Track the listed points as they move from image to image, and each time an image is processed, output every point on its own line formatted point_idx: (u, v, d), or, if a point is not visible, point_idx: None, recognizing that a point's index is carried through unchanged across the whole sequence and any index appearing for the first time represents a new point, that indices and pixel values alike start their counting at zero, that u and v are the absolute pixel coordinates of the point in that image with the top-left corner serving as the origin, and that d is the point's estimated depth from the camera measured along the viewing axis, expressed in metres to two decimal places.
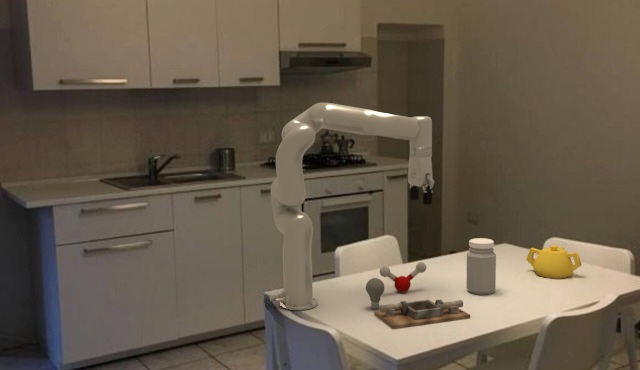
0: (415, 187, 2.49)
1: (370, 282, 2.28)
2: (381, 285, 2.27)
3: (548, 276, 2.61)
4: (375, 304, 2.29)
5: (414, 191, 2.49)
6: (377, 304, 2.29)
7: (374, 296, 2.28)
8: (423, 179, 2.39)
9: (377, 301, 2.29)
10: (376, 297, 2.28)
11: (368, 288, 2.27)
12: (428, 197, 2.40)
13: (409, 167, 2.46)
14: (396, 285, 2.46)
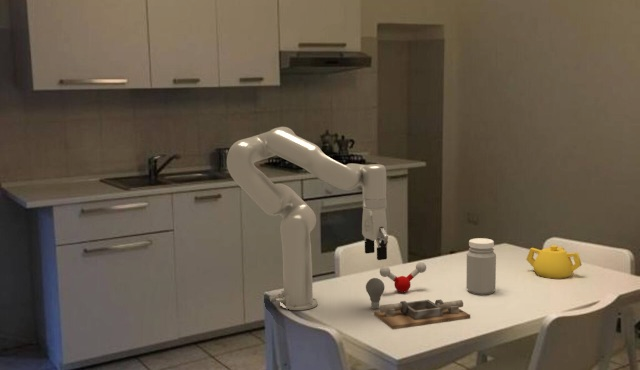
0: (370, 239, 2.32)
1: (370, 282, 2.28)
2: (381, 285, 2.27)
3: (548, 276, 2.61)
4: (375, 304, 2.29)
5: (369, 244, 2.31)
6: (377, 304, 2.29)
7: (374, 296, 2.28)
8: (377, 233, 2.21)
9: (377, 301, 2.29)
10: (376, 297, 2.28)
11: (368, 288, 2.27)
12: (382, 252, 2.22)
13: (363, 219, 2.28)
14: (396, 285, 2.46)
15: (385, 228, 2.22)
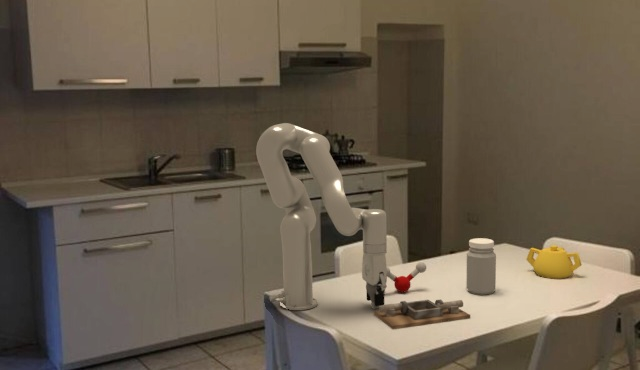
0: None
1: None
2: None
3: (548, 276, 2.61)
4: None
5: None
6: None
7: None
8: (376, 278, 2.23)
9: None
10: None
11: (368, 288, 2.27)
12: (380, 299, 2.26)
13: (363, 262, 2.30)
14: (396, 285, 2.46)
15: (385, 273, 2.24)
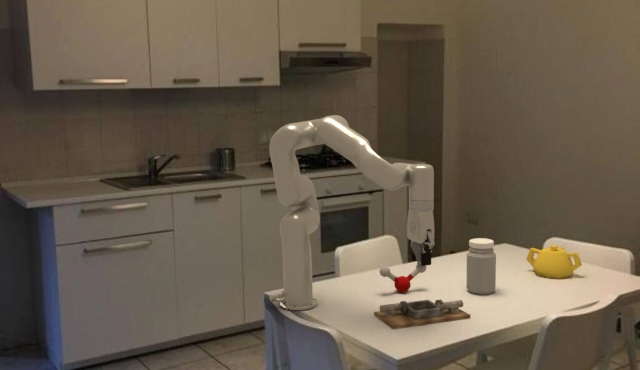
0: None
1: None
2: None
3: (548, 276, 2.61)
4: None
5: None
6: None
7: None
8: (424, 236, 2.12)
9: None
10: None
11: (414, 247, 2.16)
12: (427, 258, 2.15)
13: (408, 220, 2.19)
14: (396, 285, 2.46)
15: (432, 231, 2.13)
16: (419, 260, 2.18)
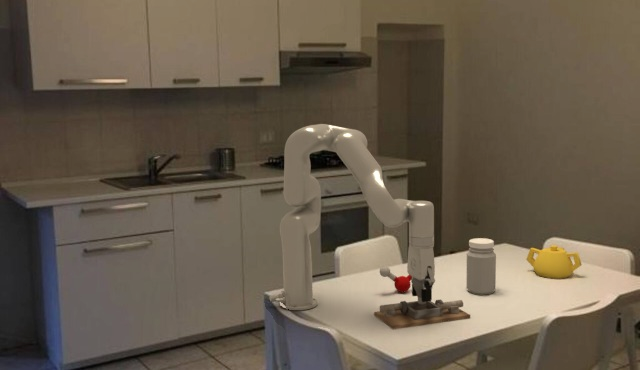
0: None
1: None
2: None
3: (548, 276, 2.61)
4: None
5: None
6: None
7: None
8: (424, 273, 2.14)
9: None
10: None
11: (415, 283, 2.18)
12: (427, 294, 2.16)
13: (409, 256, 2.21)
14: (396, 285, 2.46)
15: (433, 267, 2.15)
16: (420, 296, 2.19)
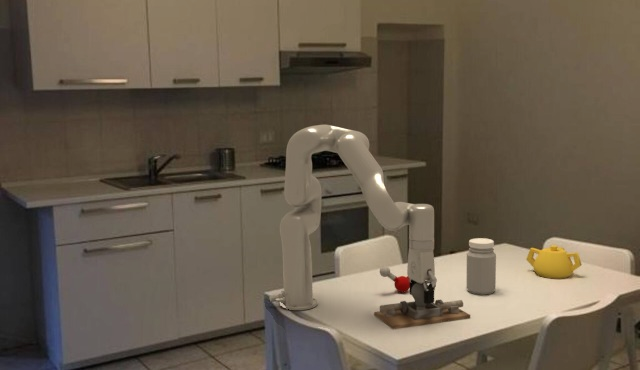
0: (415, 280, 2.24)
1: (416, 286, 2.19)
2: None
3: (548, 276, 2.61)
4: (421, 309, 2.20)
5: None
6: (423, 309, 2.20)
7: (420, 301, 2.19)
8: (424, 276, 2.14)
9: (423, 306, 2.20)
10: (422, 301, 2.19)
11: (414, 292, 2.18)
12: (430, 296, 2.15)
13: (409, 259, 2.21)
14: (396, 285, 2.46)
15: (433, 271, 2.15)
16: (418, 305, 2.20)
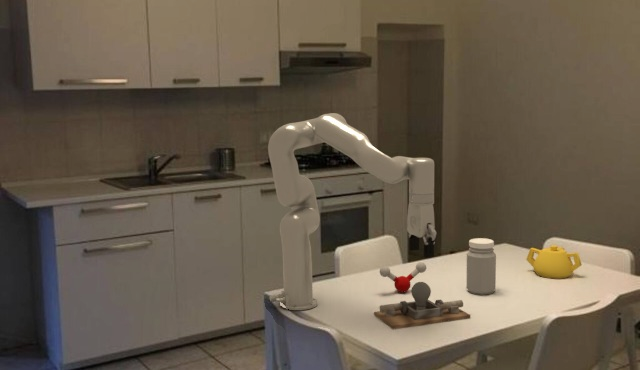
0: (415, 236, 2.22)
1: (416, 286, 2.19)
2: (427, 289, 2.18)
3: (548, 276, 2.61)
4: (421, 309, 2.20)
5: (414, 240, 2.22)
6: (423, 309, 2.20)
7: (420, 301, 2.19)
8: (424, 229, 2.12)
9: (423, 306, 2.20)
10: (422, 301, 2.19)
11: (414, 292, 2.18)
12: (429, 249, 2.13)
13: (408, 214, 2.19)
14: (396, 285, 2.46)
15: (433, 224, 2.13)
16: (418, 305, 2.20)
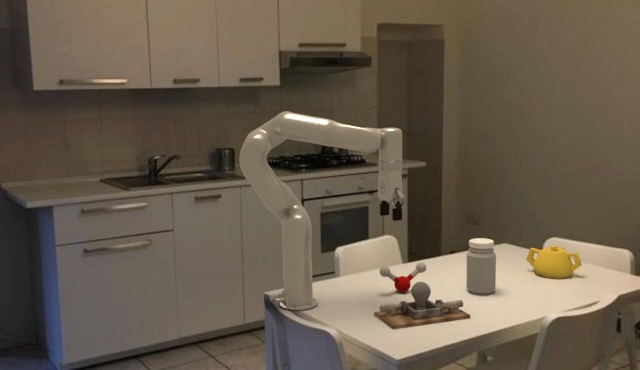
0: (385, 202, 2.37)
1: (416, 286, 2.19)
2: (427, 289, 2.18)
3: (548, 276, 2.61)
4: (421, 309, 2.20)
5: (384, 206, 2.37)
6: (423, 309, 2.20)
7: (420, 301, 2.19)
8: (392, 194, 2.27)
9: (423, 306, 2.20)
10: (422, 301, 2.19)
11: (414, 292, 2.18)
12: (398, 213, 2.28)
13: (379, 181, 2.34)
14: (396, 285, 2.46)
15: (401, 189, 2.28)
16: (418, 305, 2.20)
